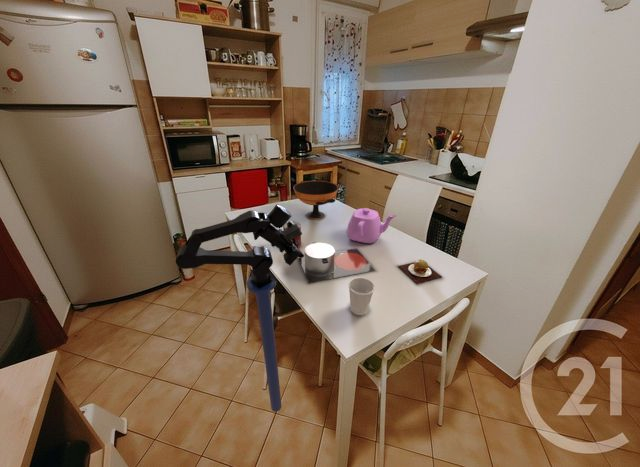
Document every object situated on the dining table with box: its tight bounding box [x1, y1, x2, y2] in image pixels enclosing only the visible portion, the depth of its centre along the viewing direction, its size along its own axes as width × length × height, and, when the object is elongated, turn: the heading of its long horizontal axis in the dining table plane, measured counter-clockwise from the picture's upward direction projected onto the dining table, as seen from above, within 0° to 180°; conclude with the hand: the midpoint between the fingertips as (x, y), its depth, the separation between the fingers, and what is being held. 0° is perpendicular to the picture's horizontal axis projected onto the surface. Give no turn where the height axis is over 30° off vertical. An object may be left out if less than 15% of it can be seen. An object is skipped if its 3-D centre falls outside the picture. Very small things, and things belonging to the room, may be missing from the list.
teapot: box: [346, 207, 397, 244], centre depth 127 cm, size 23×21×15 cm
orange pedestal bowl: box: [292, 180, 339, 220], centre depth 151 cm, size 36×26×18 cm
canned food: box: [282, 221, 302, 249], centre depth 122 cm, size 8×8×11 cm
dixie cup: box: [347, 277, 376, 316], centre depth 85 cm, size 8×8×10 cm
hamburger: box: [397, 259, 443, 285], centre depth 105 cm, size 12×12×6 cm
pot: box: [304, 241, 336, 275], centre depth 107 cm, size 12×15×8 cm
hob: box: [297, 248, 376, 284], centre depth 111 cm, size 28×18×1 cm, turn 108°
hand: (303, 256), depth 104 cm, fingers closed
